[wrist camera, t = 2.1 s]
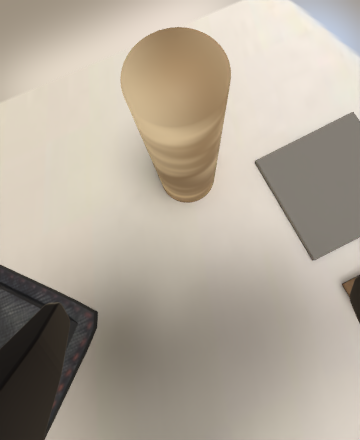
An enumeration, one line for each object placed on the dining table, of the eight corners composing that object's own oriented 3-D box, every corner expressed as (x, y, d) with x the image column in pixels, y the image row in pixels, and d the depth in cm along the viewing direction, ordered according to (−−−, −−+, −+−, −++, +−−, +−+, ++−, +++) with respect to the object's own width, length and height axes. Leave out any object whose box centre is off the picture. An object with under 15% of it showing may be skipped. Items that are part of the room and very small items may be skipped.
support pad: (312, 260, 22) (314, 260, 21) (254, 162, 23) (255, 160, 23) (415, 207, 22) (419, 206, 21) (350, 114, 23) (353, 111, 23)
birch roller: (175, 211, 23) (149, 145, 11) (152, 166, 24) (103, 57, 12) (223, 187, 23) (251, 94, 11) (199, 143, 24) (198, 10, 12)
